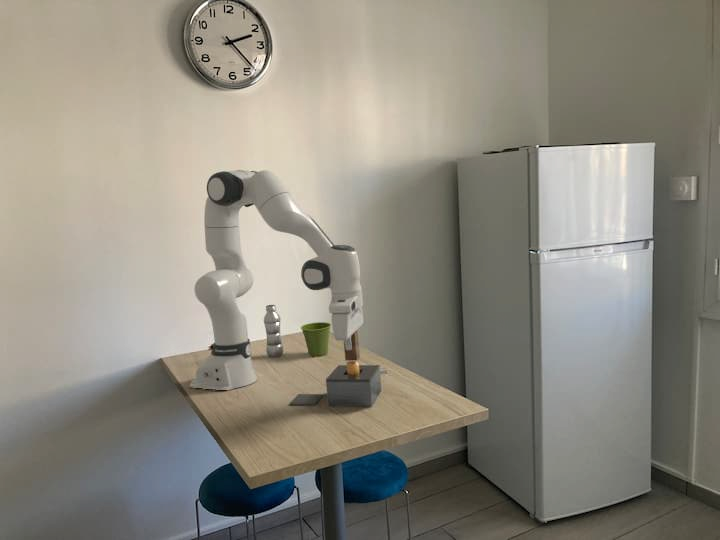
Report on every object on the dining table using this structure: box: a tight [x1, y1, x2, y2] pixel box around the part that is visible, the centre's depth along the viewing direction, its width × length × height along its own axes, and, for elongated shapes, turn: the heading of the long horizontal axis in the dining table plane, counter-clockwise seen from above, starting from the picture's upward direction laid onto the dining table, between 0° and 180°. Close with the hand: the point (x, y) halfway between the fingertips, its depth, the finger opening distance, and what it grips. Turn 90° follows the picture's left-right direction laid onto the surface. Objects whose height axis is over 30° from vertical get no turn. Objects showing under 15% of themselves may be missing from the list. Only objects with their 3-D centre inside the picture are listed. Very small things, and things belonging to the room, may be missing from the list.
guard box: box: [325, 364, 382, 408], centre depth 168 cm, size 13×13×8 cm
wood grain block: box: [343, 330, 361, 362], centre depth 166 cm, size 4×4×8 cm
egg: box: [346, 360, 360, 375], centre depth 167 cm, size 4×4×6 cm
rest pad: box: [288, 393, 324, 407], centre depth 170 cm, size 8×8×1 cm
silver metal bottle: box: [263, 304, 284, 358], centre depth 220 cm, size 6×7×20 cm
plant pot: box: [300, 321, 332, 357], centre depth 218 cm, size 12×12×11 cm
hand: (351, 347), depth 166 cm, fingers closed on wood grain block, 3 cm apart
